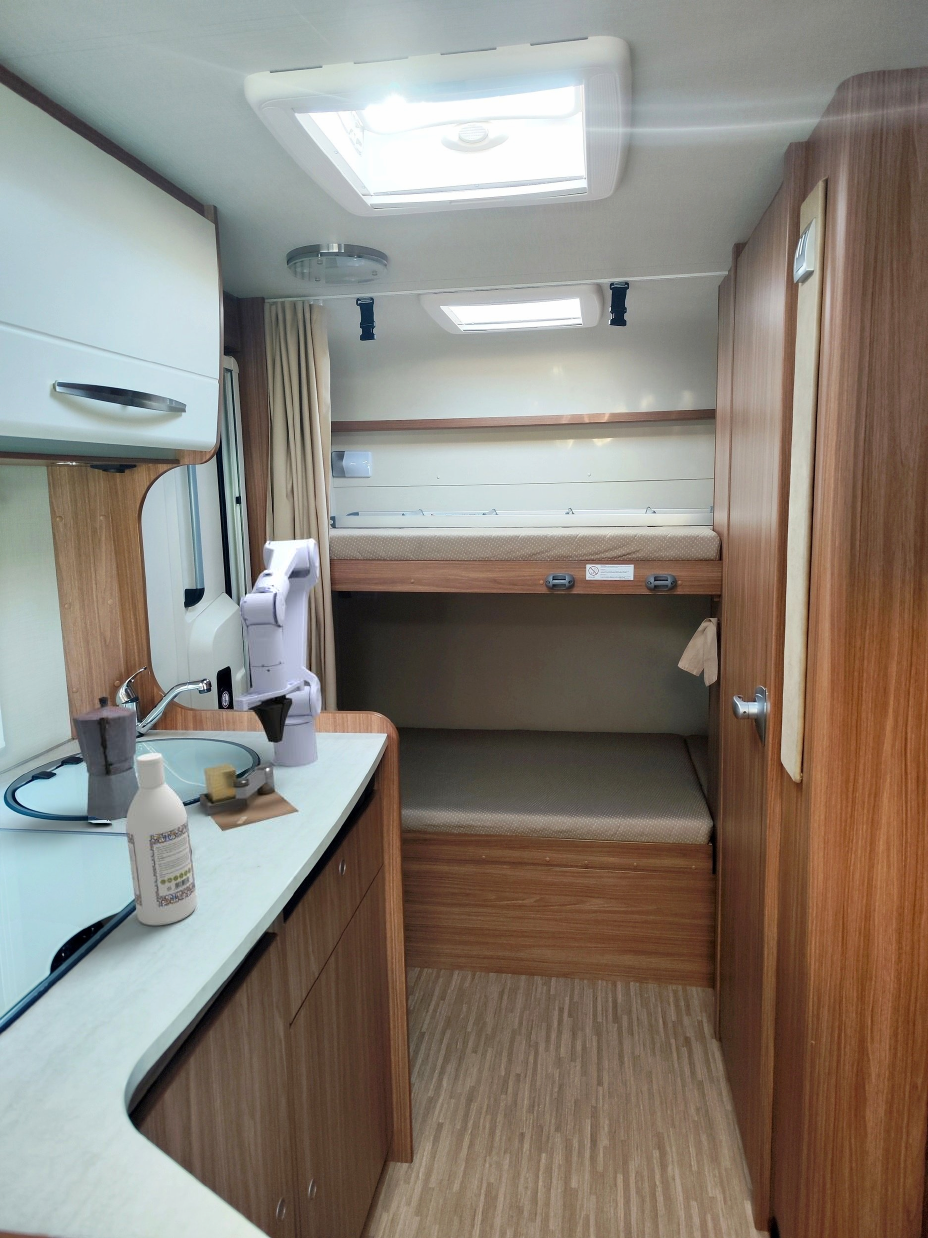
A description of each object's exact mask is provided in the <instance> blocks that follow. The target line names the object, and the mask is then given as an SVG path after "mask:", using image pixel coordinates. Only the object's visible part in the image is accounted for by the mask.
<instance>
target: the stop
mask: <svg viewBox="0 0 928 1238" xmlns="http://www.w3.org/2000/svg"><path fill="white" fill-rule="evenodd" d="M236 772H237V770H236V769H235V767H233V766H232V765H231V764H230V763H225V764H221V765H215V766H212V767H206V768H204V776H205V787H206V788H205V789H206V793H207V797H208V801H209V802H210V803H211V804H215V803H219V802H224V801H228V800H232V799H236V793H235V787H234V785H233V781H234V780H236V779H237V773H236Z"/></svg>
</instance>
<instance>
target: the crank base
mask: <svg viewBox="0 0 928 1238" xmlns="http://www.w3.org/2000/svg"><path fill="white" fill-rule="evenodd" d="M199 803H200V806H201V807H202V808H203V809H204V810H205V811H206V813H207V814H208V815H209V817H211V819H212V820H213V821H214V822H215V823H216V825H217V826H218V828H220V829H221V831H223V832H225V831H229V830H232V829H236V828H240V827H243V826H247V825H252V824H256V823H260V822H263V821H268V820H270V819H274V818H278V817H281V816H286V815H290V814H294V813H298V812H299V809H298V808H296V807H295V806H294V805H293V804H292V803H290V802H289V801H288V800H287V799H285V798H284V797H283V796H282V795H281V794H280V793H278V791H276V790H275V791H274V792H273V793H271V794H266V795H259V794H257V790H256V791H255V792H254V793H252V794H251V795H250V796H249V797H248V798H236V799H232V800H228V801H224V802H219V803H215V804H211V803H210V802H209V801H208V797H207V792H205V793H200V794H199Z"/></svg>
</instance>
